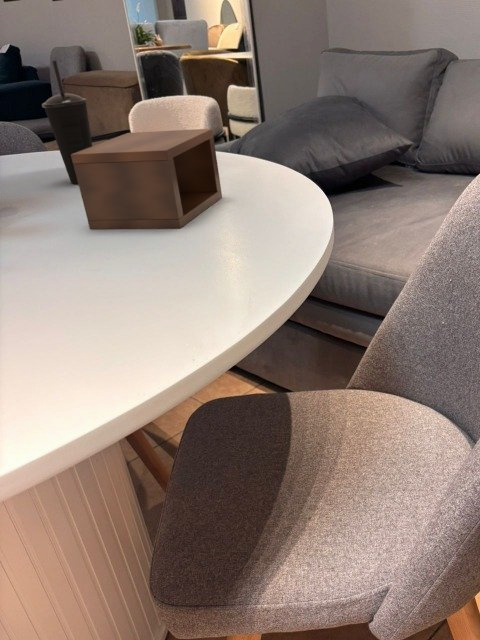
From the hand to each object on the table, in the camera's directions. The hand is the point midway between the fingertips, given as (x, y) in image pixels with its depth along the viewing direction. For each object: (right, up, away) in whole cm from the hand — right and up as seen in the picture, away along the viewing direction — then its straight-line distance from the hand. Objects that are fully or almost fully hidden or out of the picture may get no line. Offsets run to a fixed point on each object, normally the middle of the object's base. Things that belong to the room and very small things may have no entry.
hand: (37, 1), depth 109 cm
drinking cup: (+5, -28, +10) cm, 30 cm away
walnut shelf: (+24, -41, -15) cm, 50 cm away
